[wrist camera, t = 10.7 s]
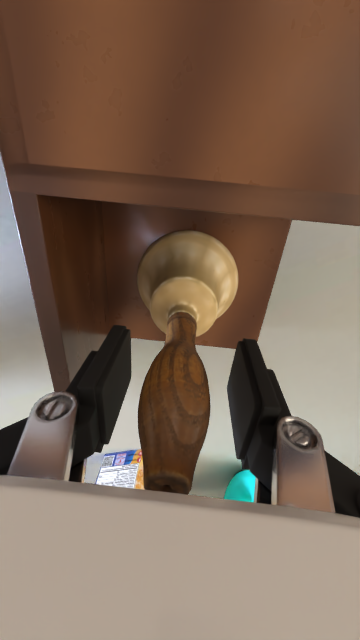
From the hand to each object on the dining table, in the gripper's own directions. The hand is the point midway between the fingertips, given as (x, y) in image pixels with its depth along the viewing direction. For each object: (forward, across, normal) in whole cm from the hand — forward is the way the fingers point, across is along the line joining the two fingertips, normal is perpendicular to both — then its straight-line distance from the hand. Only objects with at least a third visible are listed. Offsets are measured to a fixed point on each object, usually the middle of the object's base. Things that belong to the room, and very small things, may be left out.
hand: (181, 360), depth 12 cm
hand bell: (+10, 0, 0) cm, 10 cm away
